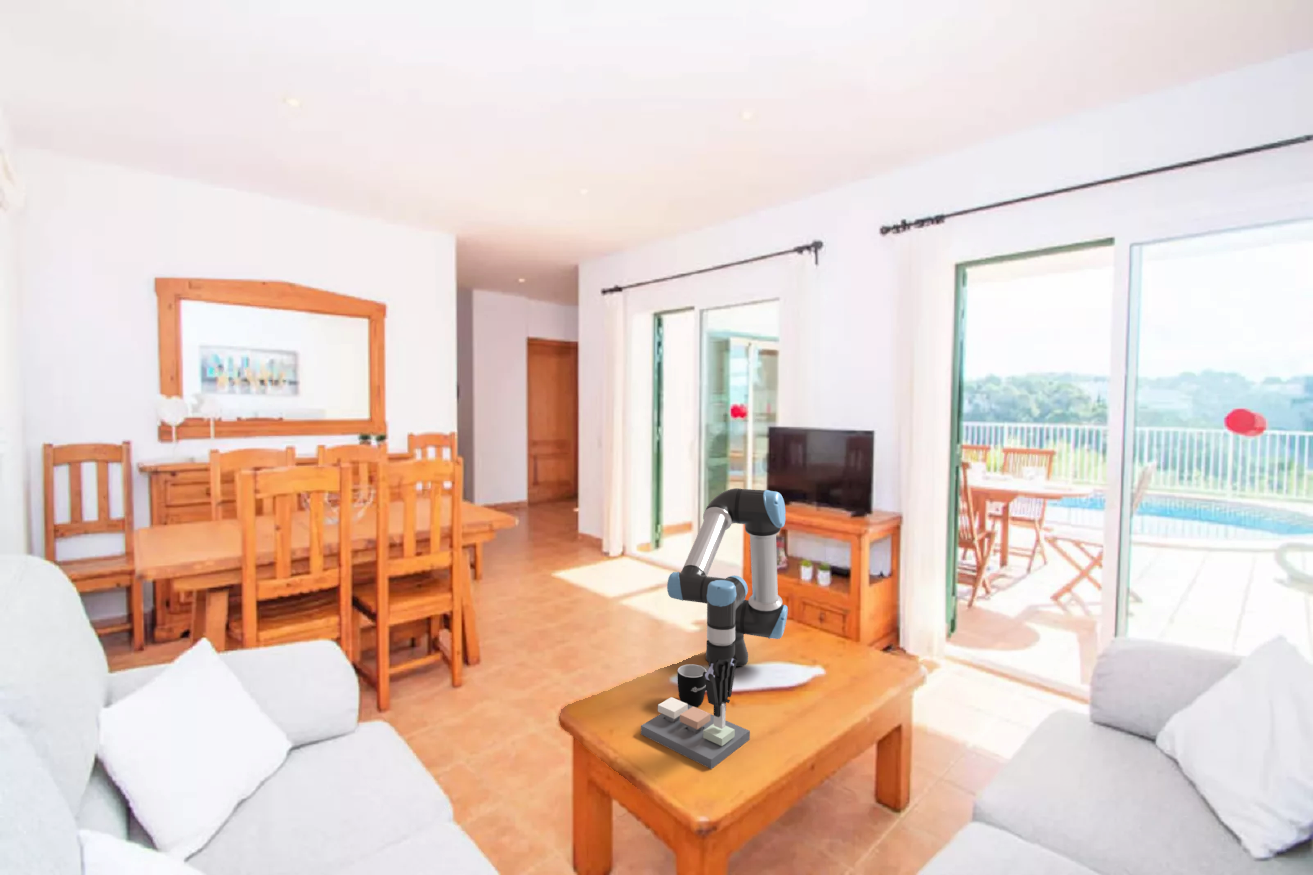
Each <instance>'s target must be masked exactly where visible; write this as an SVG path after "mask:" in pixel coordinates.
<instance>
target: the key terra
mask: <svg viewBox="0 0 1313 875" xmlns="http://www.w3.org/2000/svg"><path fill="white" fill-rule="evenodd" d="M710 718H711V713H710V712H707V711H705V710H703V709H701V708H698V707H694V706H693V707H691V708H690V709H688V710H687V711H685V712H683V713H682V714H680V722H682V723H684V724H686V725H688V727H687V730H689V731H692V732H694V733H696V734H697V733H698V732H700V731H701V730H703V725H705V724H706V723H708V722H709V721H710Z"/></svg>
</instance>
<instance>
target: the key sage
mask: <svg viewBox="0 0 1313 875" xmlns="http://www.w3.org/2000/svg"><path fill="white" fill-rule="evenodd" d="M734 737H735V729H732V728H730V727H728V726H726V725H725V727H724V728H723V729H721V728H719V727H716V726H714V724H712V725H711V726H709V727H708V728H706V729H705V730H703V738H705V739H707V740H709V741H712V742H714V743H716V744H718V745H720V746H723V745H724V744H726V743H727V742H728V741H730V740H731V739H732V738H734Z"/></svg>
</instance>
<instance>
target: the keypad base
mask: <svg viewBox="0 0 1313 875" xmlns="http://www.w3.org/2000/svg"><path fill="white" fill-rule="evenodd" d="M691 707H693V706H690V705H688V709H690V708H691ZM710 714H711V713H710ZM712 724H714V714H713V713H712V714H711V718H710V721H709V722H708V723H706V724H705V725H703V730H705V729H706V728H708V727H709V726H711V725H712ZM725 725H726V726H728V727H730V728H732V729H735V737H734V738H732V739H731V740H730V741H728V742H727V743H726V744H724V745H723V746H720V745H718V744H716V743H714V742H712V741H709V740H707V739H705V738H703V730H701V731H700V732H698V733H697V734H696V733H694V732H692V731H689V730H687V727H688V725H686V724H684V723H682V722H680V720H678V721H677V722H675V723H672V722H670V721H668V720H665V715H664V714H662V713H659V714H658V715H656V716H655V717H653V718H652V719H649V720H648V721H647V722H644V723H643V724H641V725H640V735H641V736H644V737H646V738H647V739H649V740H651V741H653V742H655V743H658V744H659V745H662V746H664V747H666V748H668V749H670V750H672V751H674V752H676V753H678V754H680V755H681V756H684V757H686V758H688V759H690V760H692V761H694V762H695V763H698V764H699V765H702V766H704V767H706V768H708V769H710V770H713V769H714V768H715V767H716V766H717V765H719V764H720V763H721V762H723V761H724V760H725V759H726V758H728V757H729V756H730V755H731V754H733V753H734V752H736V751H737V750H738V749H740V748H741V747H742V746H743V745H745V744H746V743H747V742H748V741H750V739H751V738H750V737H751V736H750V735H751V730H749V729H746V728H744V727H742V726H740V725H737V724H735V723H733V722H730V721H728V720H726V719H725Z"/></svg>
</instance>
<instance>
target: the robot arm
mask: <svg viewBox="0 0 1313 875" xmlns="http://www.w3.org/2000/svg"><path fill="white" fill-rule="evenodd" d="M785 504H786V503H785V499H784V498H783V496H782V494H781V493H780V492H778V491H776V490H775V491H773V490H769V489H751V488H748V489H747V488H730V489H728V490H724V491H723V492H721V493H719V494H718V495H717V496H715V497H714V498H713V499H712V500H711V501H710V502H709V503H708V504H707V506H706V508H705V510H704V511H703V512H704V513H703V515H702V516H703V517H702V519H703V522H702V524H701V526H700V529H699V531H698V534H697V535H696V538H695V540H694V541H693V542H694V543H693V545H692V547H691V549H690V552H689V554H688V556H687V558H686V560H685V563H684V565H683V567H682V569H681V571H673V572H671V573H670V574H669V576H668V579H667V584H666V590H667V594H668V595H667V596H669V597H670V598H671V599H674V600H679V601H687V602H693V603H702V604H706V650H705V659H706V660H705V661H707V662H708V670H706V672H703V677H704V679H705V684H706V697H707V702H708V704H711V705H712V706H713V715H714V726H716V727H719V728H721V729H723V728H724V727H725V720H726V711H727V704H729V703H730V701H731V700H730V699H729V698H731V697H732V692H733V686H734V679H735V674H736V673H735V672H736V668H737V667H736V666H740V667H742V666H741V665H743V666H745V665H746V664H747V663H748V662H749V652H748V649H747V646H746V643H745V639H744V638H745V635H747V636H753V637H761V638H768V640H769V639H775V640H780V639H782V637H783V635H784V632H785V630H786V624H787V619H788V613H789V609H788V608H789V607H788V606H787V605H786V604H783V599H782V597H781V596H780V595H779V594H778V592H779V591H778V589H779V588H778V556H777V552H778V551H777V535H778V534H779V533H780V531H781V528H783V527H784V526H785V523H786V514H787V513H786V505H785ZM732 524H740V525H744V528H745V529H744V530H745V532H746V533H747V535H749V539H750V540H749V543H750V562H751V564H750V565H751V567H750V568H751V588H752V589H751V590H752V594H751V595H750V596H749V597H748V599H746V597H747V594H748V592H749V588H748V584H747V582H746V581H745V579H743V578H742V577H740V576H739V575H730V576H727V577H725V578H724V577H718V576H717V577H716V576H708V575H709V572H710V570H711V568H712V564H713V563H714V560H715V557H716V555H717V553H718V550H719V547H720V545H721V543H722V541H723V540H722V539H723V538H724V535H725V533H726V531H727V530H728V529H730V528H731V526H732Z"/></svg>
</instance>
